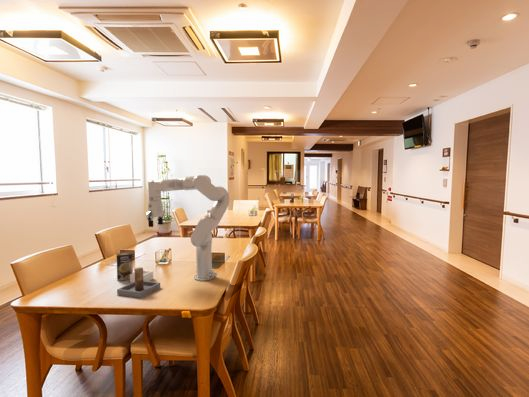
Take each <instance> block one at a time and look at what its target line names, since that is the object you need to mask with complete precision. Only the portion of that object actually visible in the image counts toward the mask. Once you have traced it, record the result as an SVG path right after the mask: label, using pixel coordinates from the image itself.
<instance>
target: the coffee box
mask: <svg viewBox="0 0 529 397" xmlns="http://www.w3.org/2000/svg"><path fill="white" fill-rule="evenodd" d="M115 256H116V280H117V282H121V281H126V280H127V281H128V280H130V274H132V273H134V272H133V271H134V270H133V269H134V268H133V252H120V253H116V254H115Z"/></svg>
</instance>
